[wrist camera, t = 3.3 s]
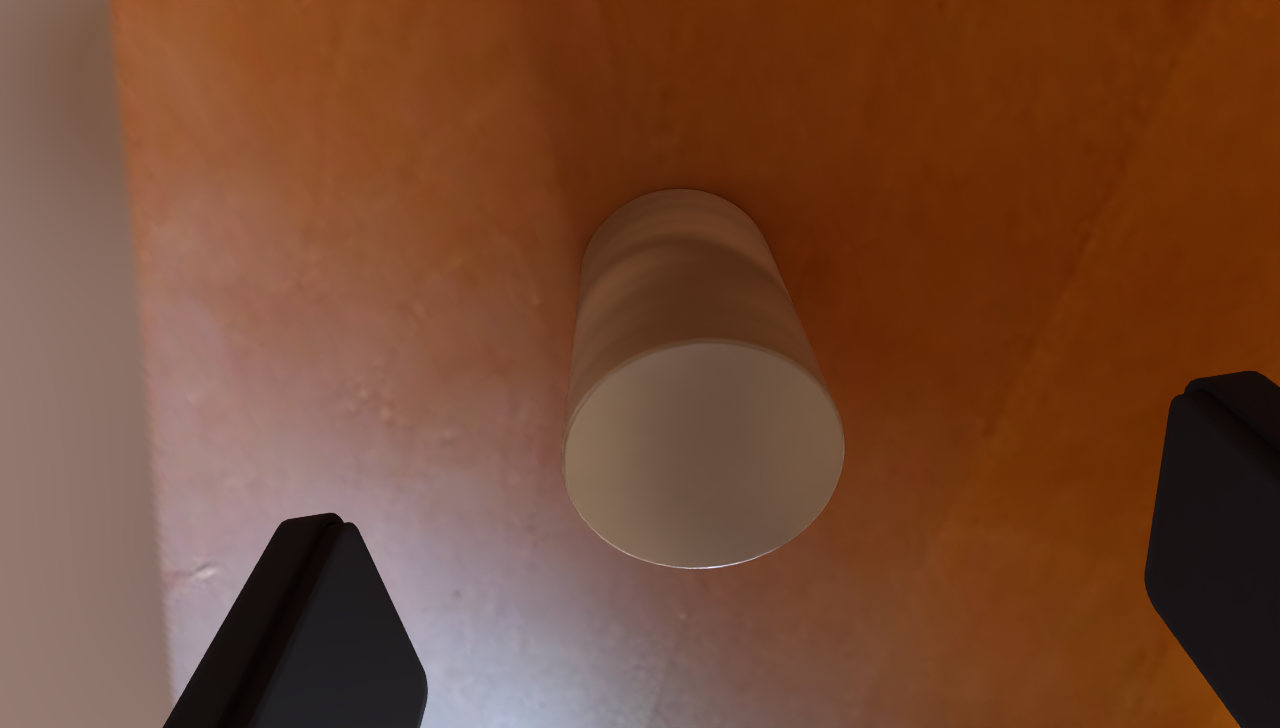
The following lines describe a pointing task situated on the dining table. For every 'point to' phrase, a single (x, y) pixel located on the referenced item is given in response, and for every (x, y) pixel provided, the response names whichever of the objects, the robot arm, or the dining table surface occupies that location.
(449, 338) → the dining table surface
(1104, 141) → the dining table surface
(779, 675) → the dining table surface
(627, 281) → the stopper
